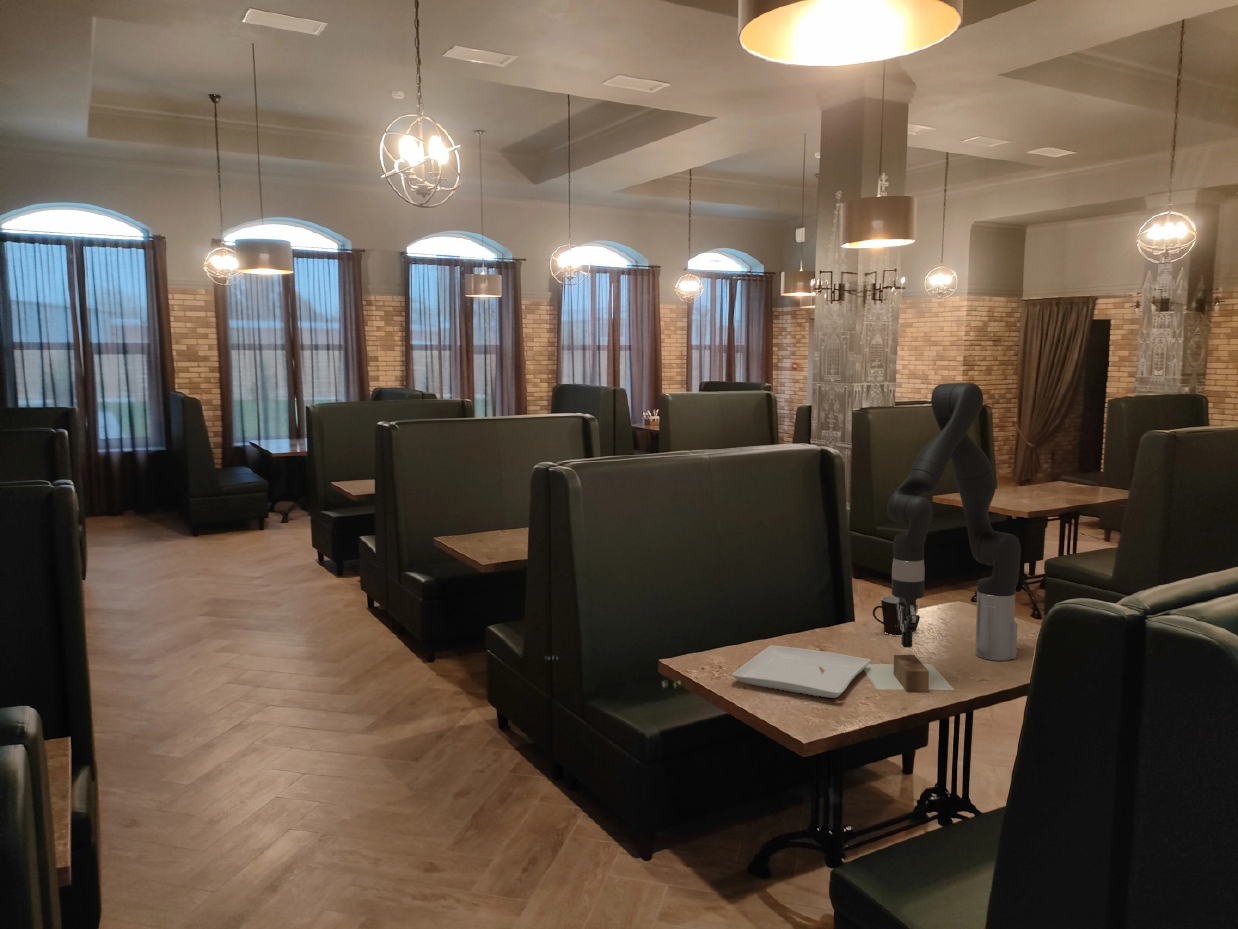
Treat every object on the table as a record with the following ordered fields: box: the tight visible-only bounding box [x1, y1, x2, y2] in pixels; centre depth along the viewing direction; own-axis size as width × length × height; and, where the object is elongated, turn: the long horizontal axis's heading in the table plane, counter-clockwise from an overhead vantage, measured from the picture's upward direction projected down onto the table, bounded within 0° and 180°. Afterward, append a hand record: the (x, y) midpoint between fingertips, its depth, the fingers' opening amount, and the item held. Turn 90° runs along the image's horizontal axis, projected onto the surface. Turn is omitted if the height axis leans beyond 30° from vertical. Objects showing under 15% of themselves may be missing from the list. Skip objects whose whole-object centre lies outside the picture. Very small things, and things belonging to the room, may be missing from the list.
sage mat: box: [863, 663, 955, 691], centre depth 214 cm, size 18×18×1 cm
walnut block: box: [893, 654, 929, 693], centre depth 209 cm, size 5×5×12 cm
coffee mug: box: [872, 595, 902, 635], centre depth 250 cm, size 12×9×10 cm
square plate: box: [731, 644, 872, 699], centre depth 215 cm, size 27×27×4 cm
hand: (906, 646), depth 212 cm, fingers closed
